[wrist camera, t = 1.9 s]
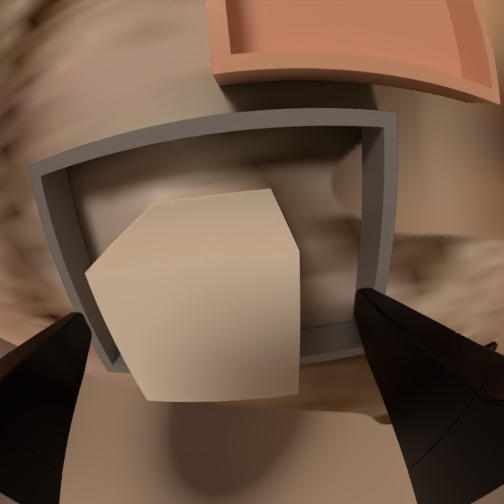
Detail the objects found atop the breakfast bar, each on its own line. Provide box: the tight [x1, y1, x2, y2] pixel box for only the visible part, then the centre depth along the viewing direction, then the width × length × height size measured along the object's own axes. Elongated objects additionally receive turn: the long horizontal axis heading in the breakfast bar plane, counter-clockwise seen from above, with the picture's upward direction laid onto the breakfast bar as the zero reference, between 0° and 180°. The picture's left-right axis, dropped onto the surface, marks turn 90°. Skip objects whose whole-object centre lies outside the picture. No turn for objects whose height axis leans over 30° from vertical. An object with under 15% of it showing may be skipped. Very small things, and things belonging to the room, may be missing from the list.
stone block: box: [85, 189, 300, 402], centre depth 10 cm, size 5×5×6 cm
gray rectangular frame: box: [29, 108, 398, 373], centre depth 11 cm, size 14×11×2 cm
